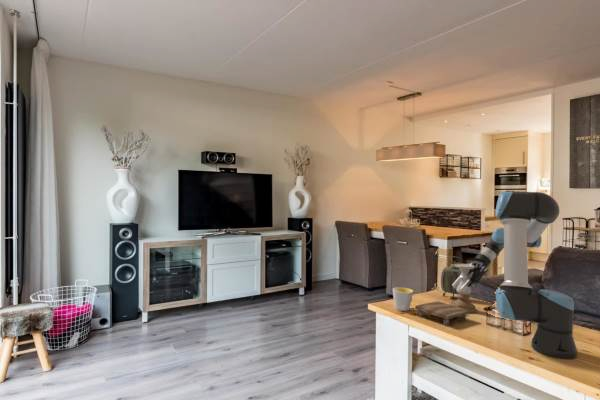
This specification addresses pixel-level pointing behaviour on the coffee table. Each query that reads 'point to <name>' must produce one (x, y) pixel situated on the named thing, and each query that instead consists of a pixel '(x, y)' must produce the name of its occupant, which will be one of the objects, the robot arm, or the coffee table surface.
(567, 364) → the coffee table surface
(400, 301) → the mug
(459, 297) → the candle holder
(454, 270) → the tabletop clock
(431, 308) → the walnut stand
